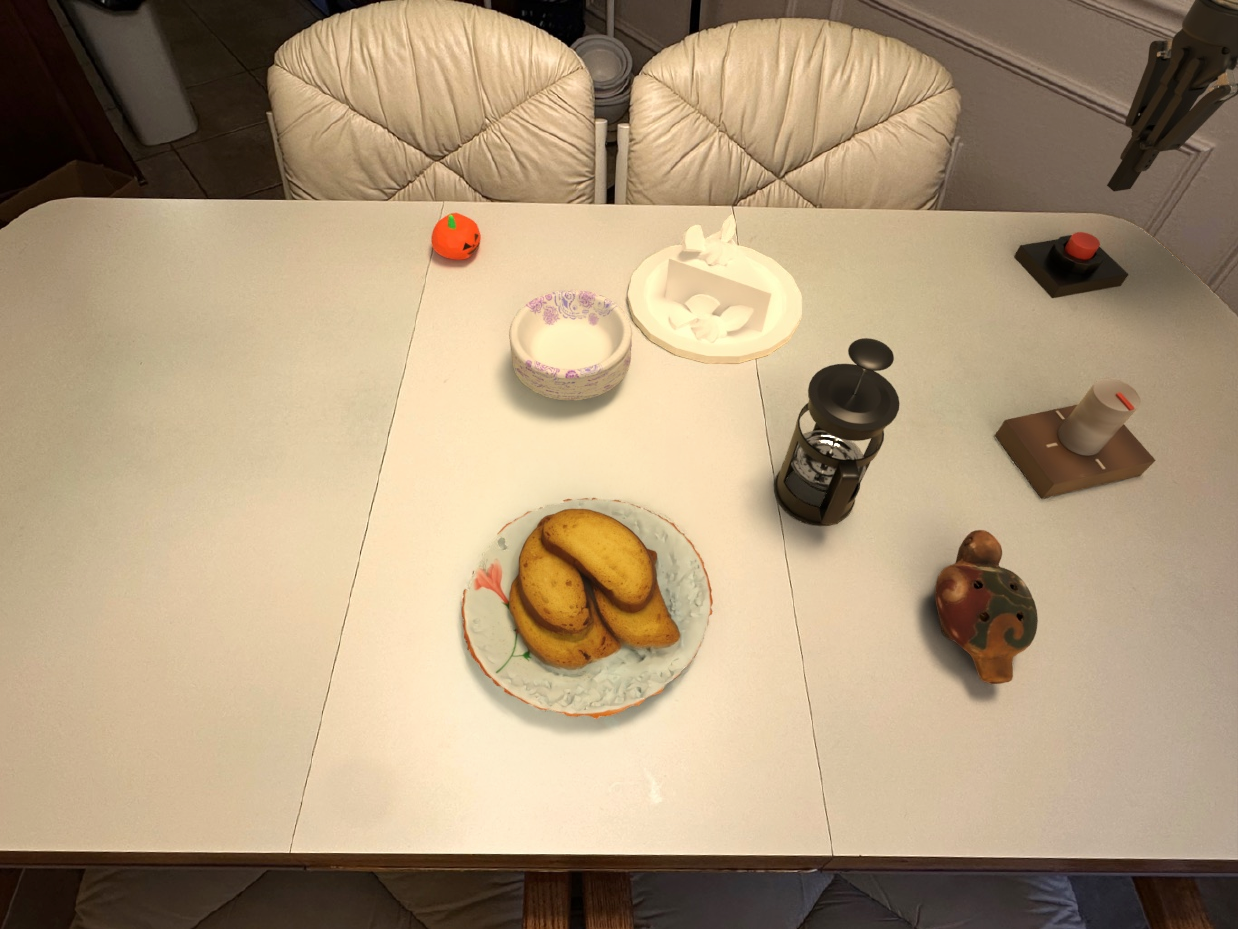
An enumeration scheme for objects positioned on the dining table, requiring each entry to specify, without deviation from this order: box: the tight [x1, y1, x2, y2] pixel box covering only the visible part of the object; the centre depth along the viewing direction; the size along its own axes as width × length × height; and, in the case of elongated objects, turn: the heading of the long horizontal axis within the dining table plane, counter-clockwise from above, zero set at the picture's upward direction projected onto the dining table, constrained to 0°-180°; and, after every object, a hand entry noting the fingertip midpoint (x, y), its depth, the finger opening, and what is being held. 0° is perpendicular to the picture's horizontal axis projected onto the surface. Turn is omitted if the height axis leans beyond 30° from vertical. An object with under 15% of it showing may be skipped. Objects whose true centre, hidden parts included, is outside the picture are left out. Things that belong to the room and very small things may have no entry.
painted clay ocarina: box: [934, 529, 1039, 685], centre depth 75 cm, size 10×15×8 cm, turn 1°
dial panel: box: [994, 403, 1156, 499], centre depth 90 cm, size 14×10×3 cm
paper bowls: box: [508, 289, 633, 401], centre depth 95 cm, size 15×15×8 cm
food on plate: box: [461, 497, 714, 720], centre depth 75 cm, size 25×25×7 cm
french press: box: [773, 337, 901, 527], centre depth 78 cm, size 12×9×23 cm
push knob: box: [1065, 231, 1101, 260], centre depth 110 cm, size 4×4×2 cm
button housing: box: [1013, 234, 1130, 299], centre depth 112 cm, size 12×10×4 cm
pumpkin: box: [430, 212, 482, 260], centre depth 110 cm, size 7×8×6 cm
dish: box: [627, 213, 803, 364], centre depth 102 cm, size 25×25×11 cm
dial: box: [1058, 377, 1141, 456], centre depth 86 cm, size 5×5×8 cm
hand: (1118, 187), depth 102 cm, fingers closed
